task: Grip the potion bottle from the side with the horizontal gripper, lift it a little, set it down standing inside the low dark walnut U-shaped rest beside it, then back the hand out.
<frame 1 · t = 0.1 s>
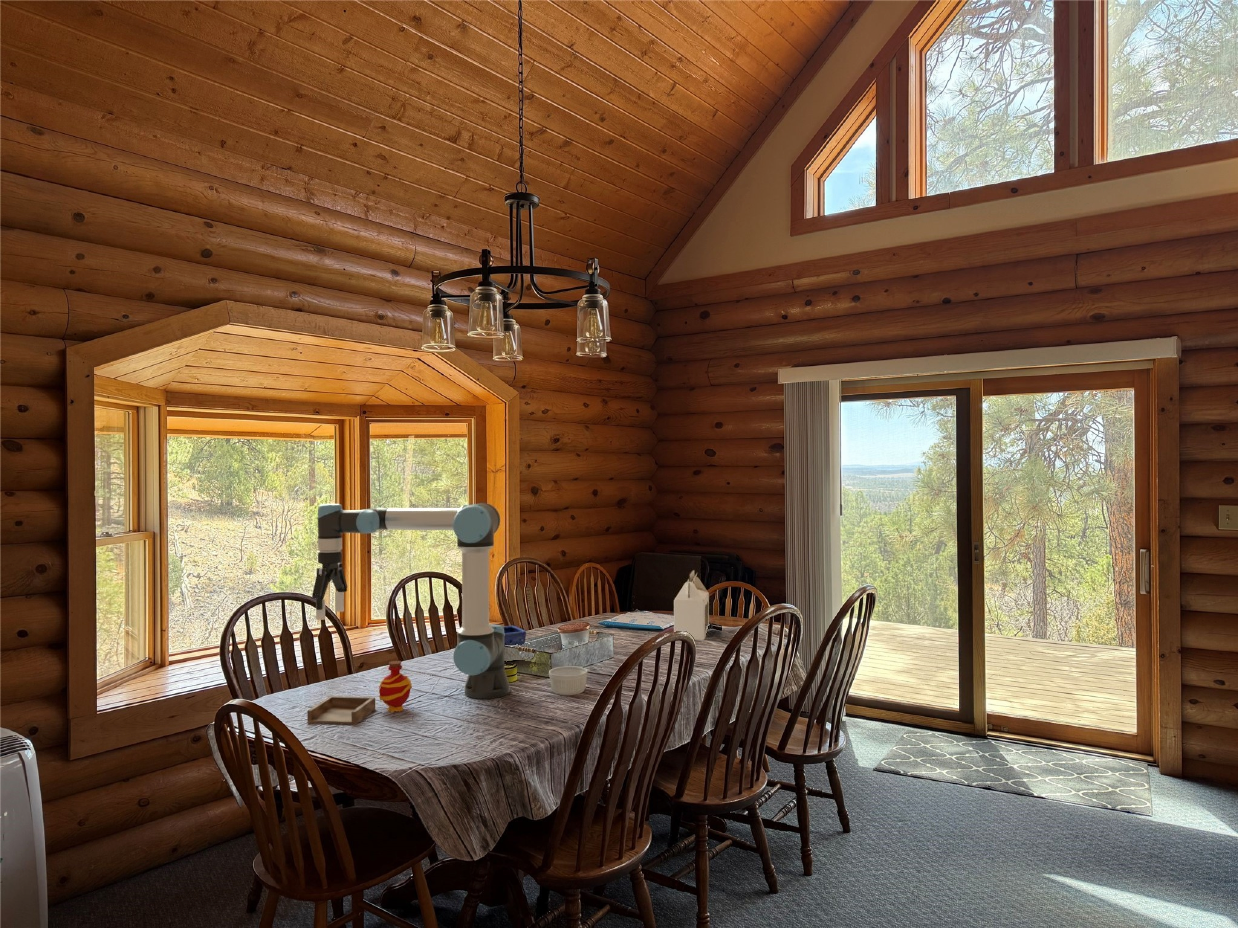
hand: (330, 615, 271), 28 cm above the table, tool pointing down, fingers open, 13 cm apart
potion bottle: (395, 710, 261), on the table
flower pot: (504, 660, 325), on the table
ramekin: (568, 691, 282), on the table
gable box: (691, 634, 370), on the table
u rest: (342, 715, 255), on the table
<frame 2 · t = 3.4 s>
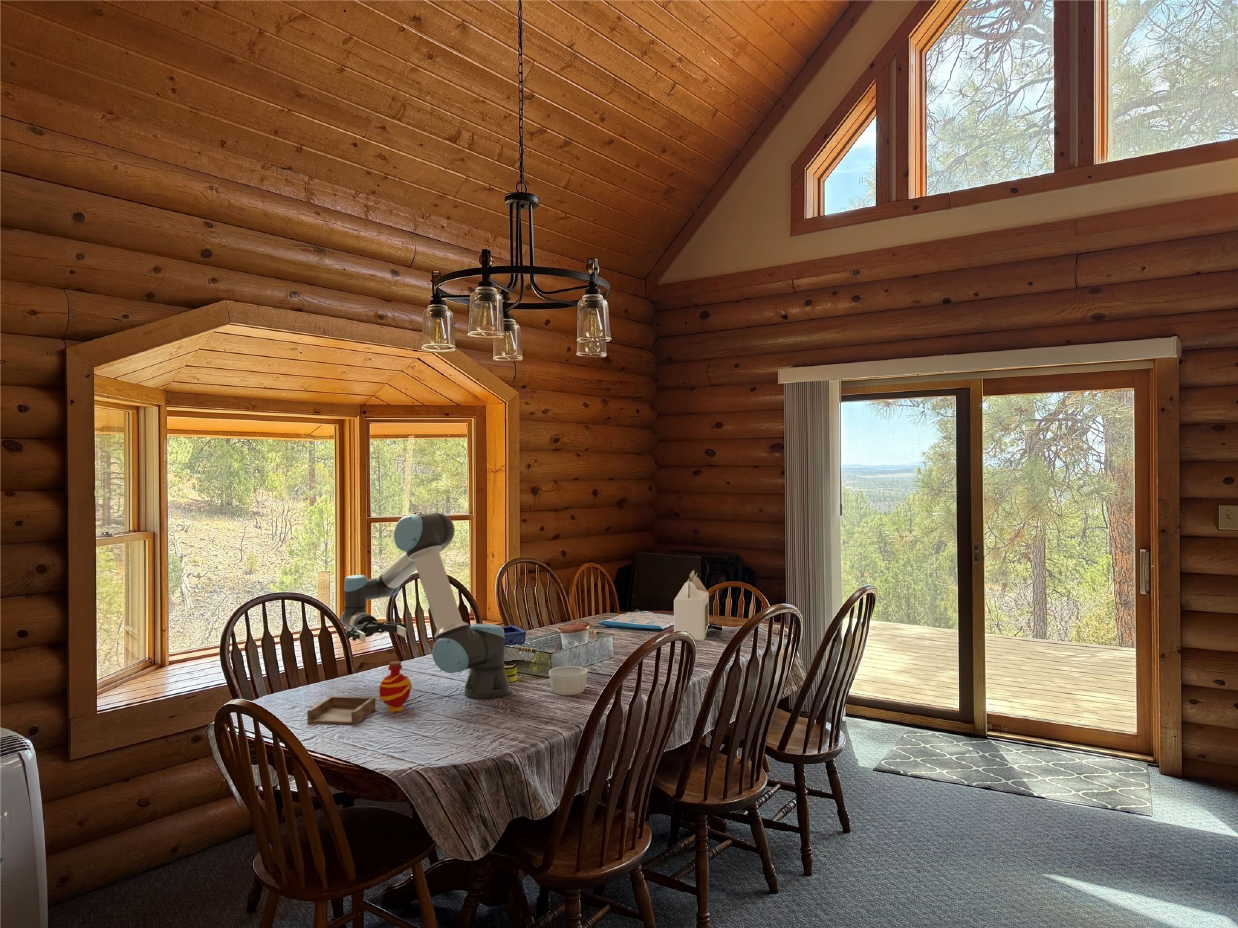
hand: (385, 635, 269), 22 cm above the table, tool horizontal, fingers open, 13 cm apart
nothing on the table moved.
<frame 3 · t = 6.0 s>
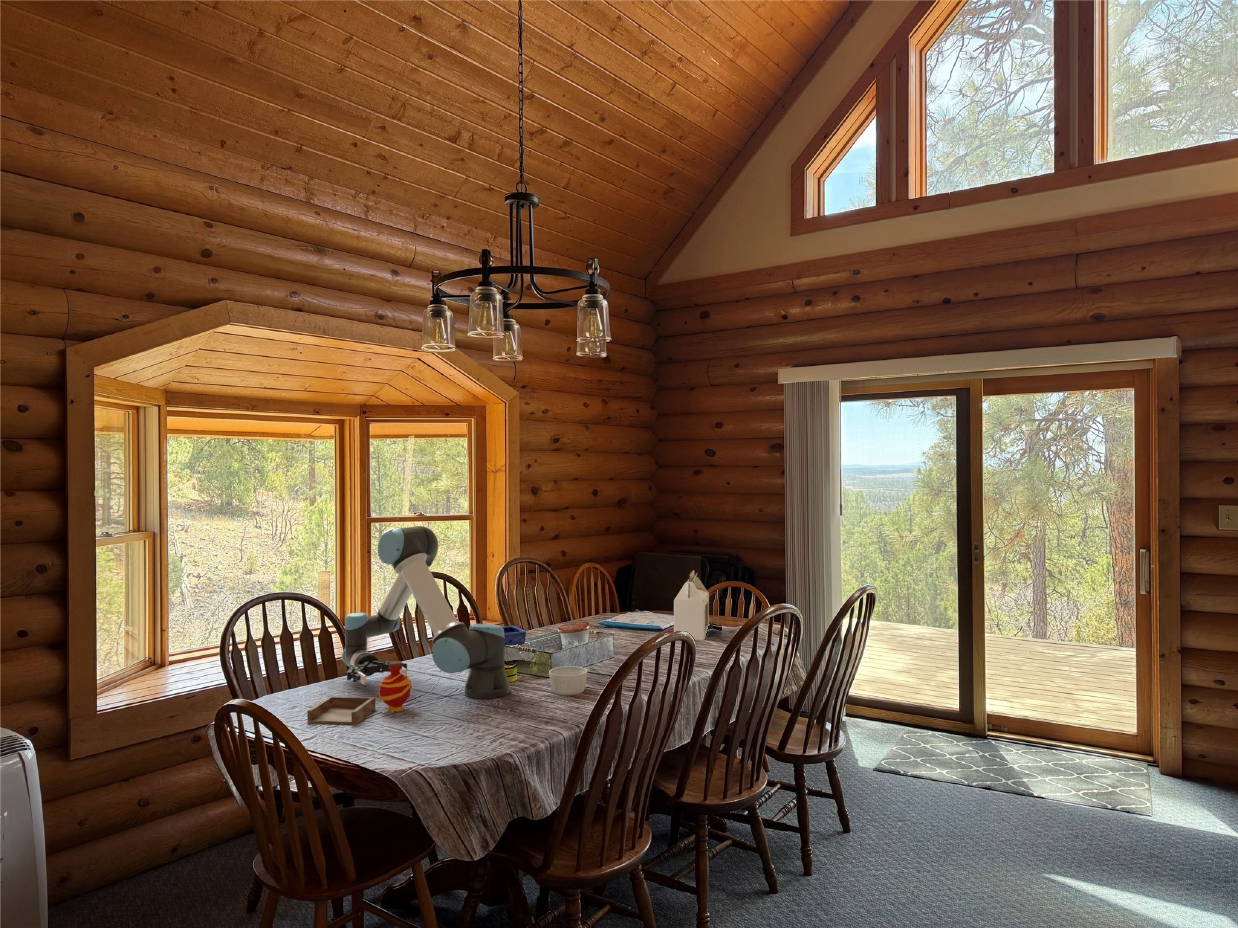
hand: (385, 676, 268), 8 cm above the table, tool horizontal, fingers open, 13 cm apart
nothing on the table moved.
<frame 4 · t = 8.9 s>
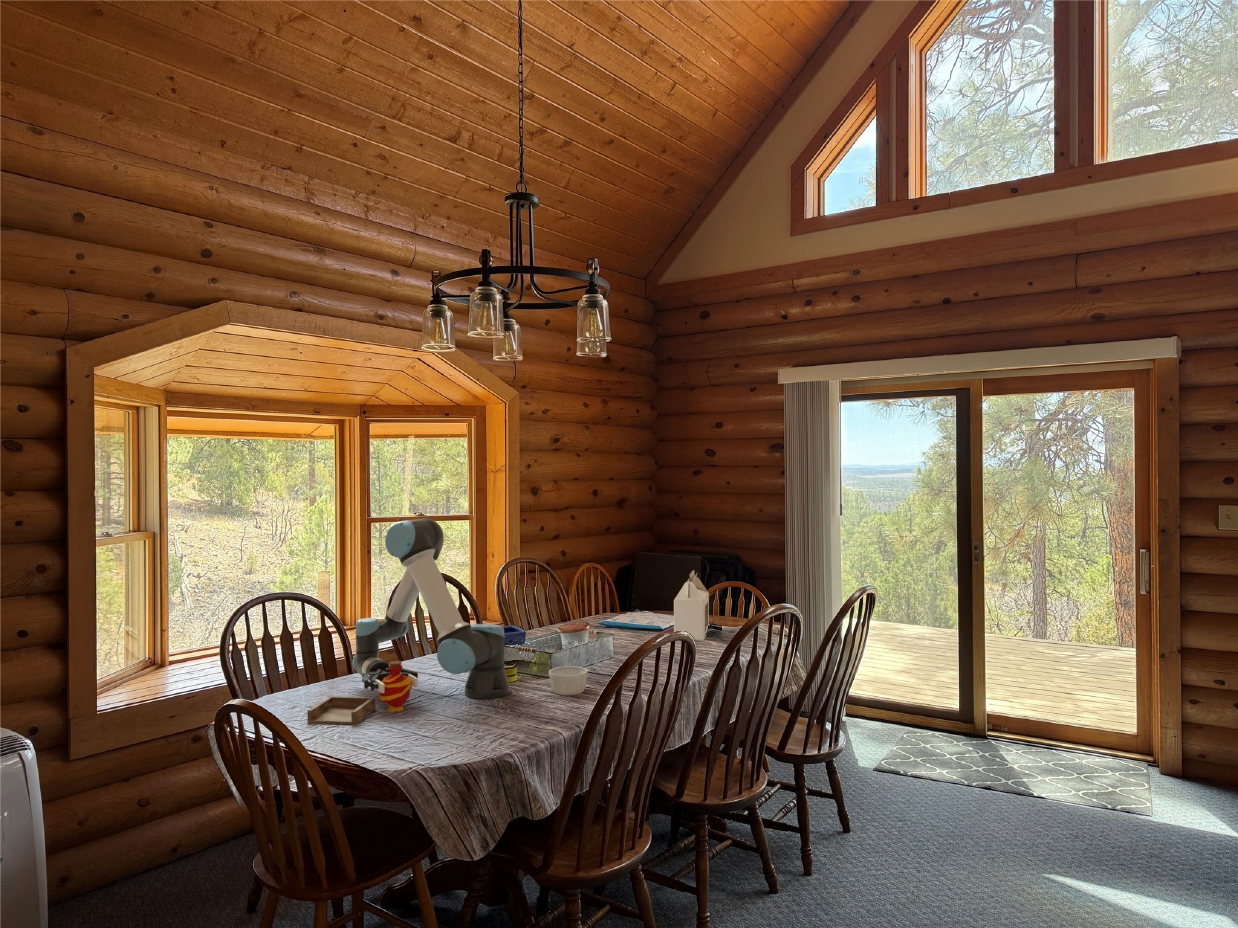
hand: (400, 685, 257), 9 cm above the table, tool horizontal, fingers closed on potion bottle, 10 cm apart
potion bottle: (395, 710, 261), on the table, touching gripper
everything else where it was.
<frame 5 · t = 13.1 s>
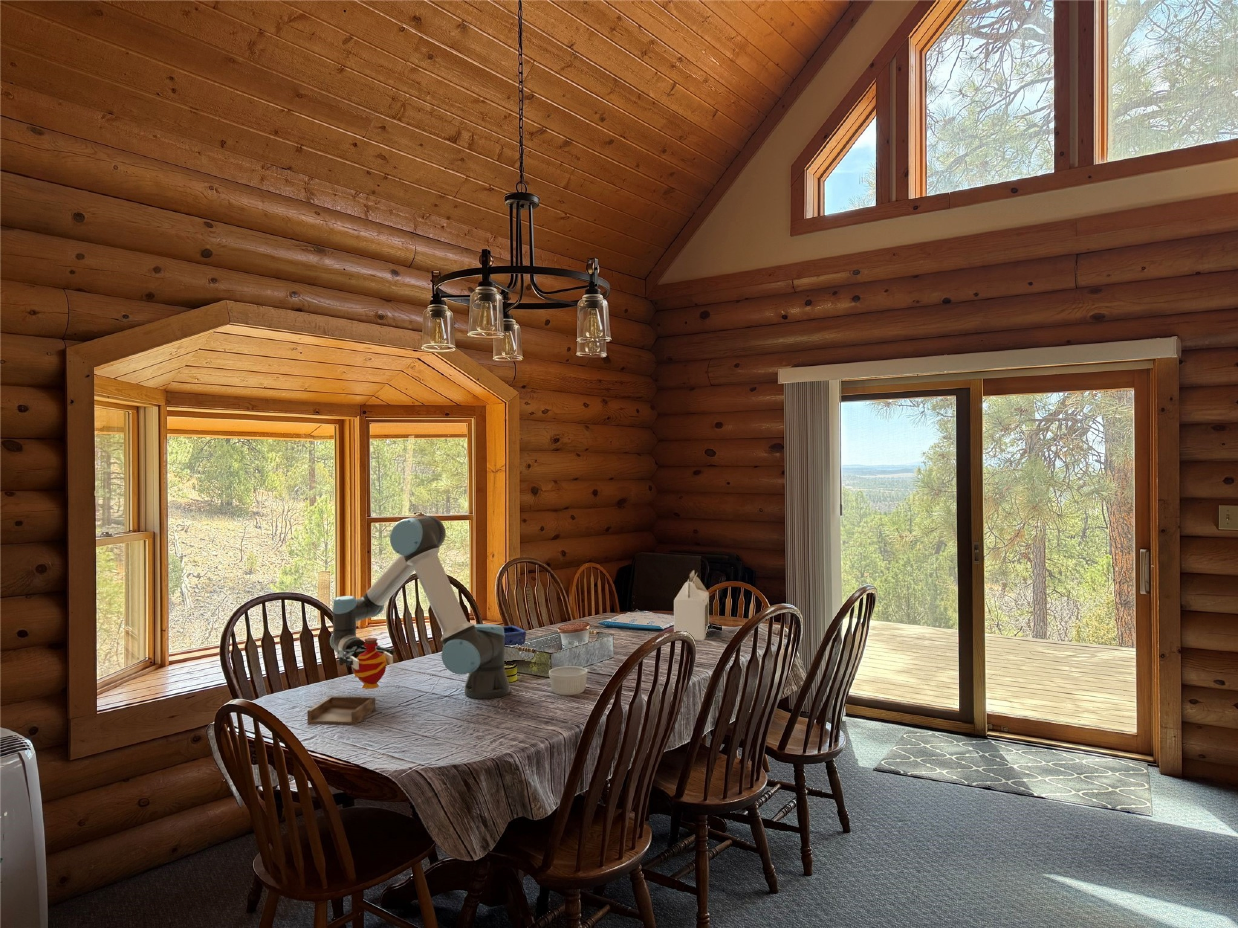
hand: (374, 662, 255), 16 cm above the table, tool horizontal, fingers closed on potion bottle, 10 cm apart
potion bottle: (370, 687, 259), point 8 cm above the table, touching gripper
everything else where it was.
when the fingers open (10 cm above the table, at t = 17.2 s): potion bottle drops 1 cm, resting on u rest.
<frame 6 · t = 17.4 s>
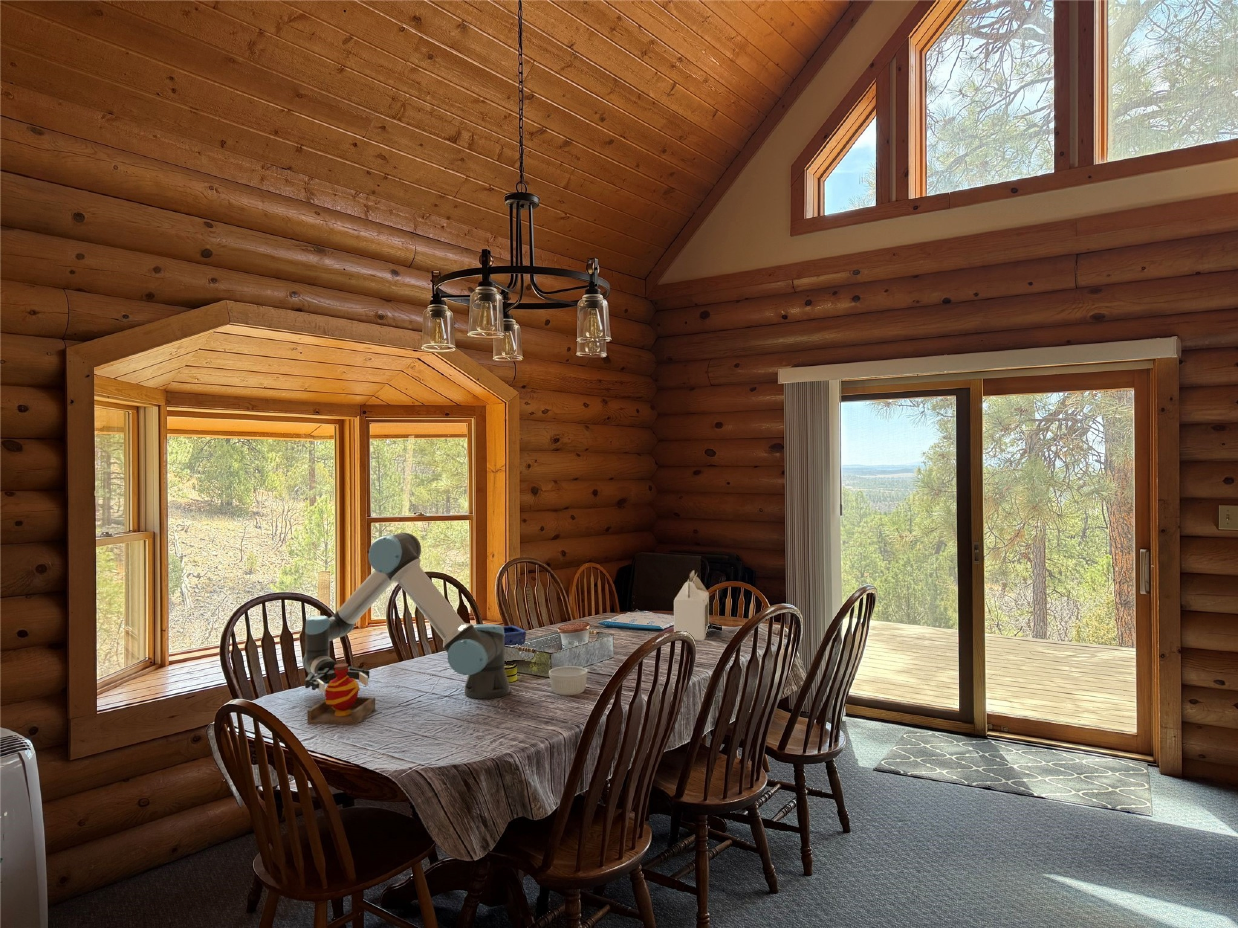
hand: (345, 684, 252), 10 cm above the table, tool horizontal, fingers open, 12 cm apart
potion bottle: (343, 713, 255), point 1 cm above the table, touching u rest
everything else where it was.
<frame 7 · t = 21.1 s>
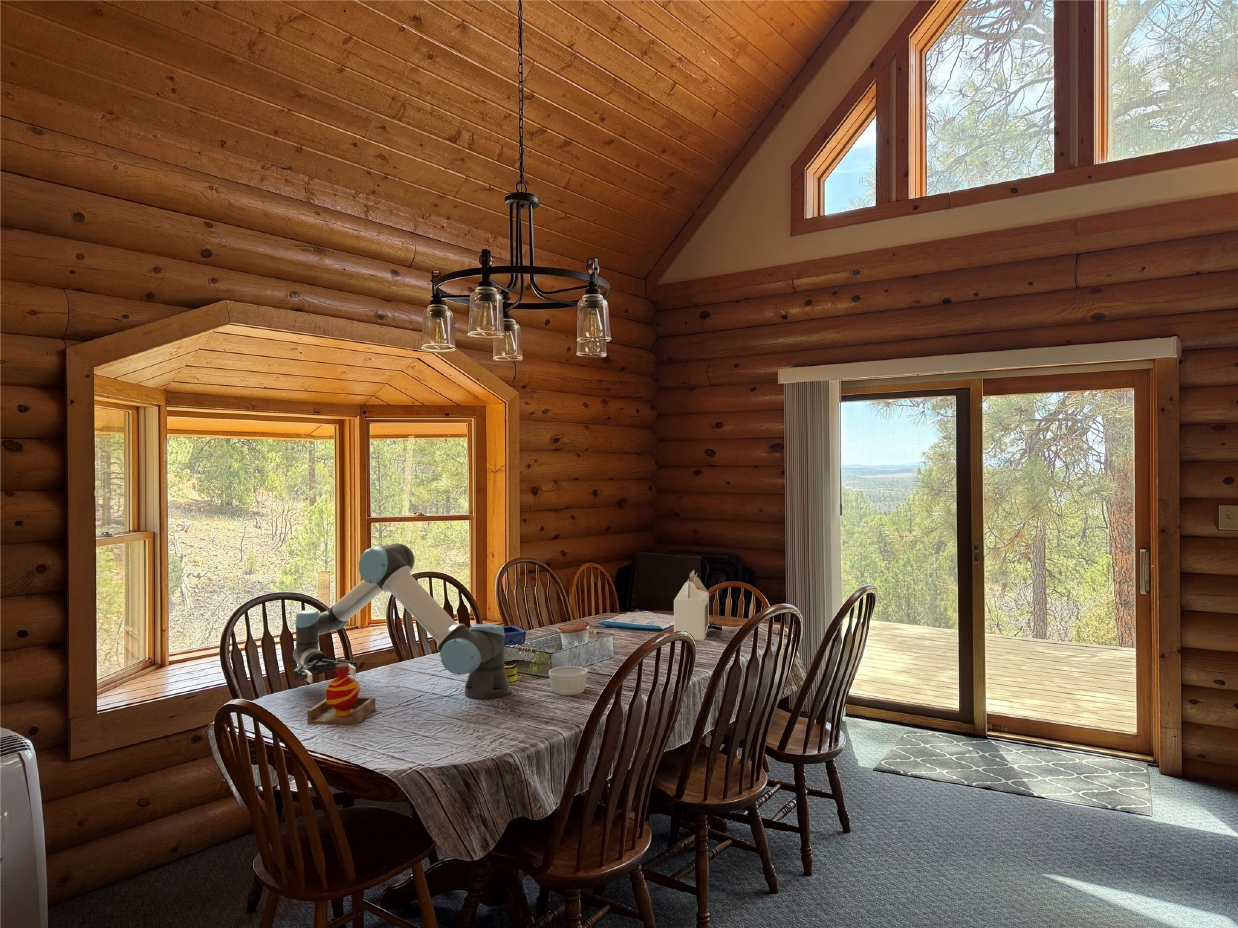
hand: (333, 675, 262), 11 cm above the table, tool horizontal, fingers open, 13 cm apart
nothing on the table moved.
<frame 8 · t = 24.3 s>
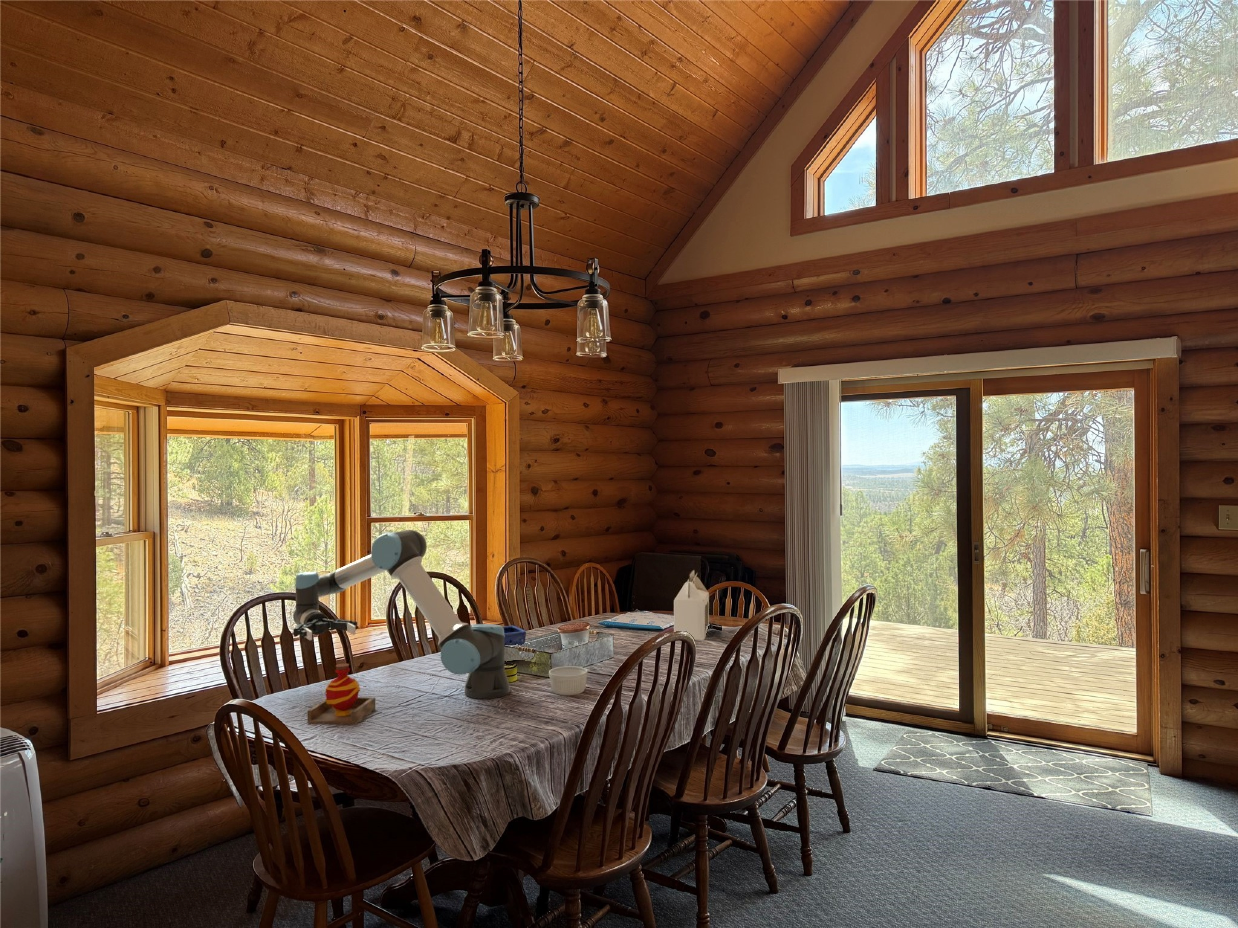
hand: (332, 633, 262), 24 cm above the table, tool horizontal, fingers open, 13 cm apart
nothing on the table moved.
at the end: potion bottle inside the target area on the u rest (0.2 cm from its centre), point 0.6 cm above the u rest's base; potion bottle tilted 0°; the gripper is holding nothing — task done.
